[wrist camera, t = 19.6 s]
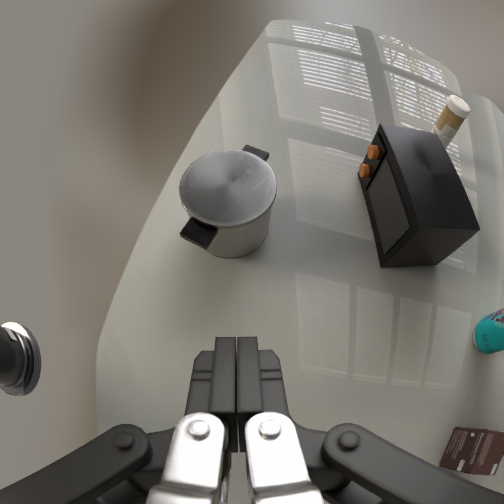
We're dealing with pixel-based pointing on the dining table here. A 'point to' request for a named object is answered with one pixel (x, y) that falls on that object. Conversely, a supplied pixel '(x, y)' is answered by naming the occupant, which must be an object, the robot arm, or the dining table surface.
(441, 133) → the sprinkles bottle
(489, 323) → the beverage can
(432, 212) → the toaster oven
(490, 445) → the box
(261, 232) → the pot
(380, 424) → the dining table surface
